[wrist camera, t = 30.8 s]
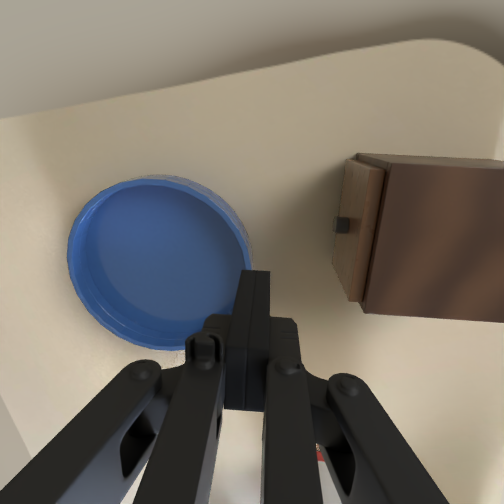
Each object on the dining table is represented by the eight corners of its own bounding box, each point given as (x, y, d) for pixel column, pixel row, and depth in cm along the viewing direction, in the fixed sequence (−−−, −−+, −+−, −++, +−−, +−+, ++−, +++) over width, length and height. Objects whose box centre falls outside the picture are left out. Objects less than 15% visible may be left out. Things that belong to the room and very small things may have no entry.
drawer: (321, 263, 38) (334, 300, 29) (334, 158, 34) (354, 168, 25) (445, 270, 37) (494, 311, 29) (473, 165, 33) (539, 177, 25)
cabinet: (340, 266, 39) (363, 313, 29) (356, 152, 34) (391, 162, 24) (460, 273, 38) (527, 324, 28) (493, 159, 34) (585, 172, 24)
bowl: (72, 169, 37) (53, 173, 33) (257, 179, 36) (255, 184, 32) (94, 328, 44) (80, 344, 40) (249, 339, 43) (247, 356, 39)
